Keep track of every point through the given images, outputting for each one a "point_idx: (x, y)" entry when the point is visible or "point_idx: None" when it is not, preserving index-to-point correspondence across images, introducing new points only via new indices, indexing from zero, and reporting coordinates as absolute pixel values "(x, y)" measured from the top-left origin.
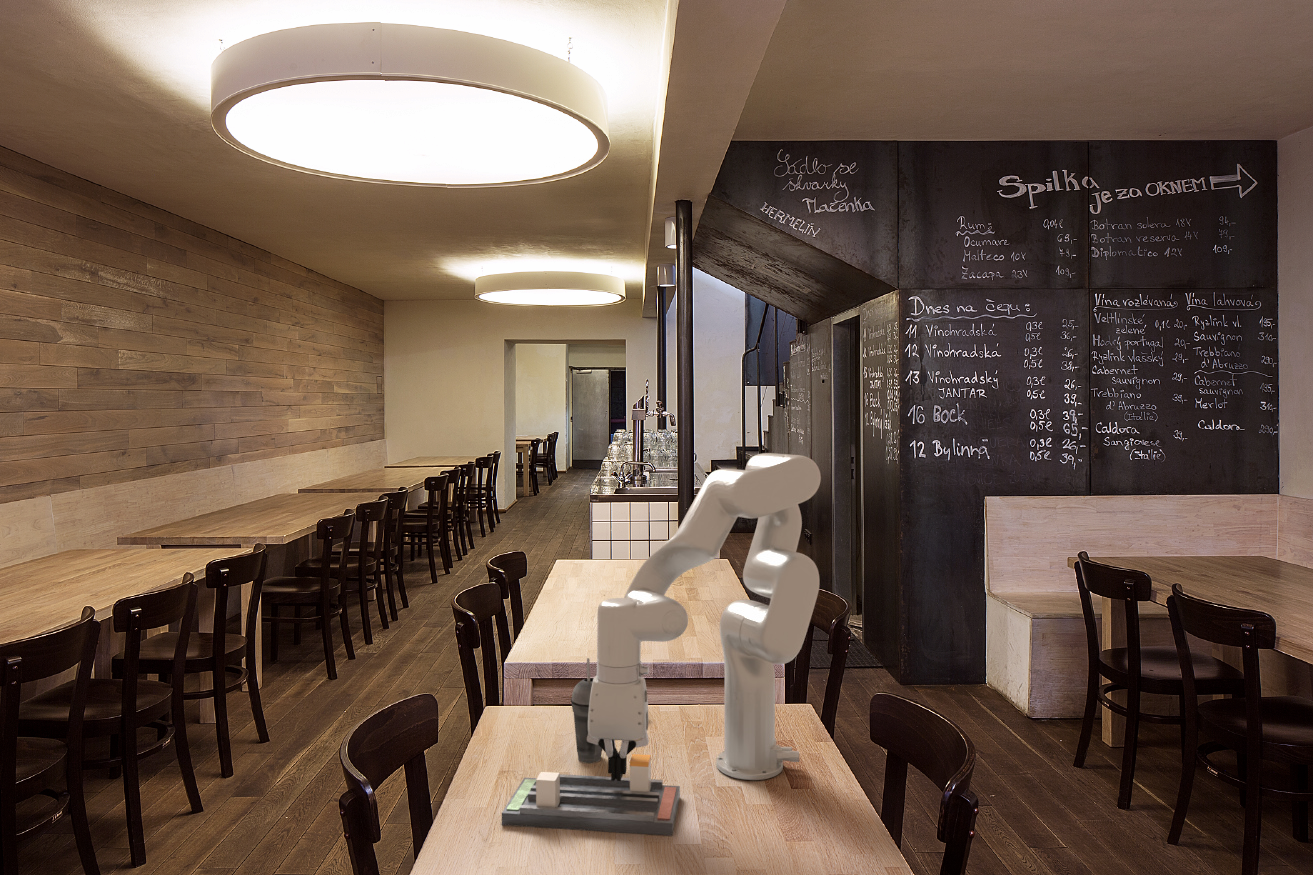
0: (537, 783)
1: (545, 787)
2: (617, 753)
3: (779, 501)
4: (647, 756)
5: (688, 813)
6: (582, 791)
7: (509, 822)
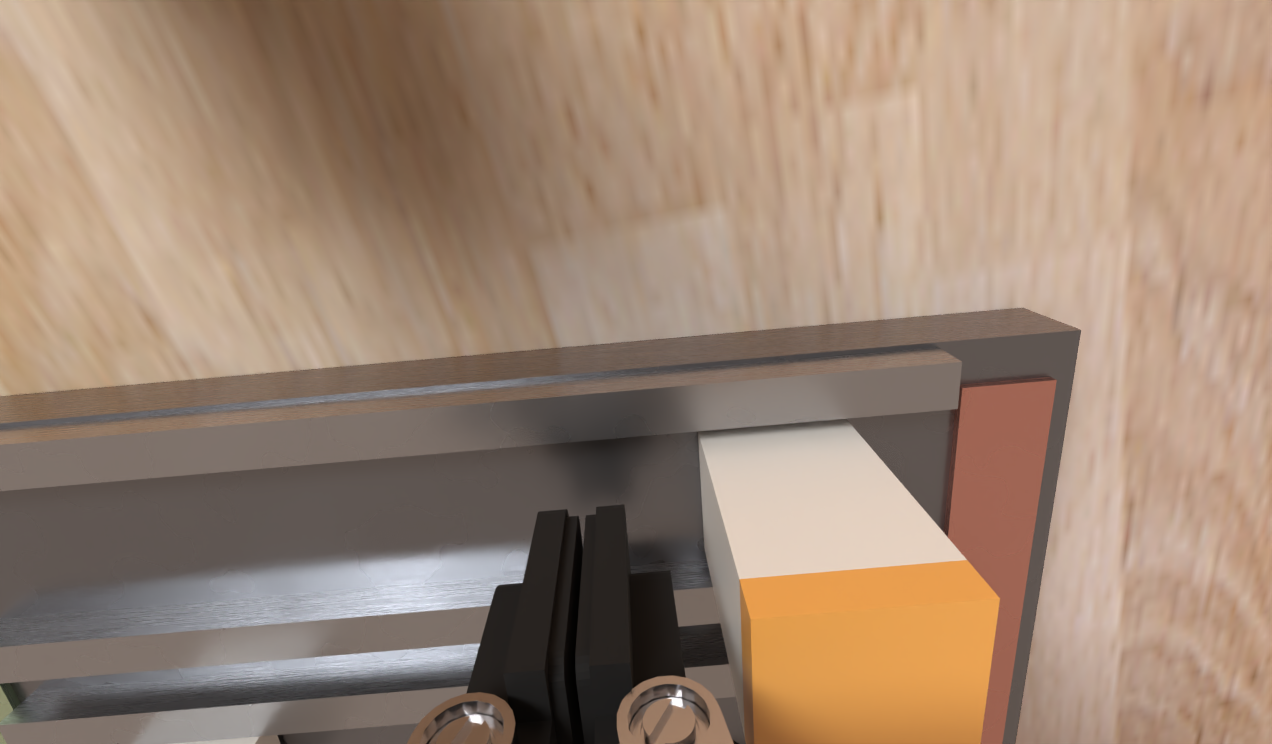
0: None
1: None
2: (563, 710)
3: None
4: (956, 641)
5: (1070, 499)
6: (365, 651)
7: None
